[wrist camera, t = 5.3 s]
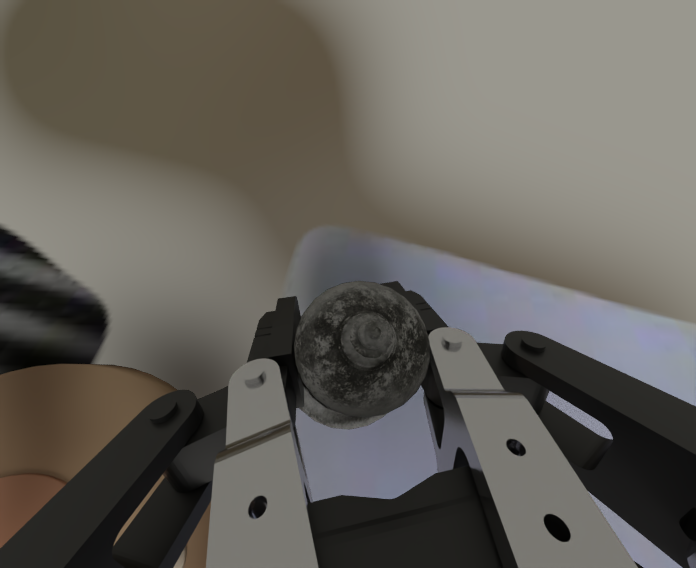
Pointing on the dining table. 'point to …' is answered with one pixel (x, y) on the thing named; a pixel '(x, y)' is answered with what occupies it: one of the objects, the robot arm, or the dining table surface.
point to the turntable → (70, 436)
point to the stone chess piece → (359, 354)
